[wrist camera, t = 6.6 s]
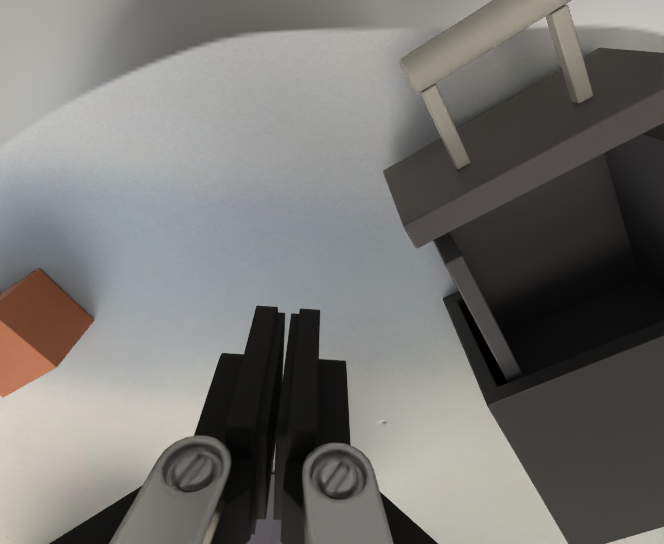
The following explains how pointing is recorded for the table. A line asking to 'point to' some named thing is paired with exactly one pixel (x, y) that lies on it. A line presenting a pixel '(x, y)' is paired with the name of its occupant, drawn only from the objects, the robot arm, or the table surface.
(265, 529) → the purple grey cylinder
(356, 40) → the table surface
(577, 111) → the sliding drawer
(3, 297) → the block
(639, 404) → the dark grey drawer box
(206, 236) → the table surface
